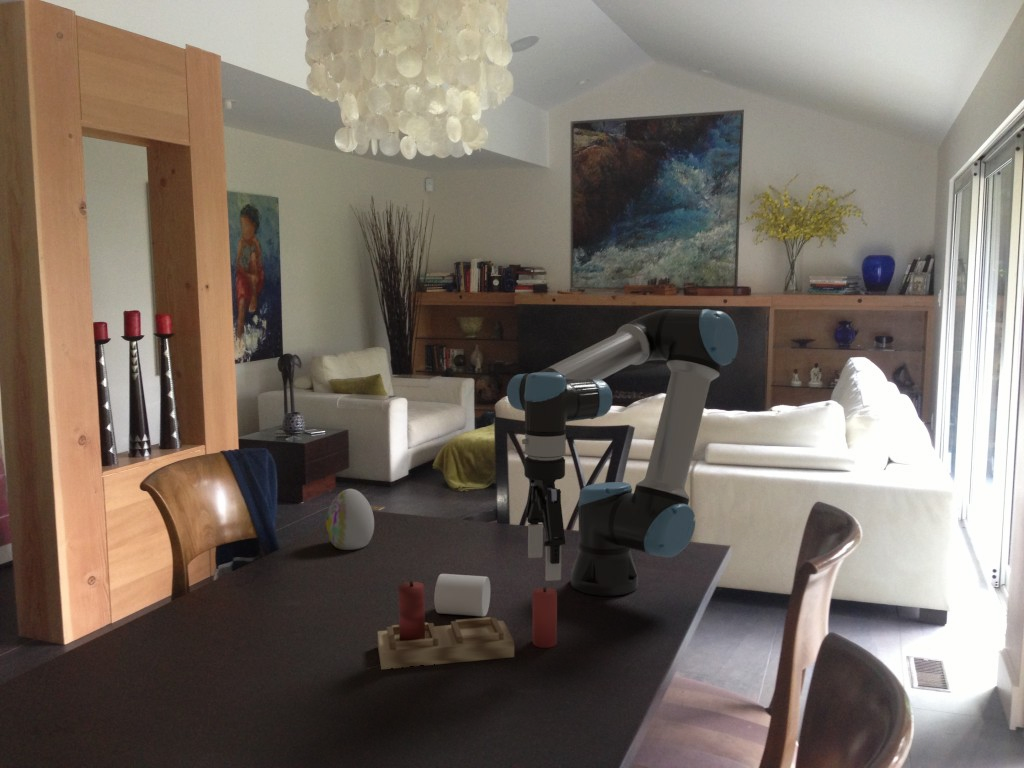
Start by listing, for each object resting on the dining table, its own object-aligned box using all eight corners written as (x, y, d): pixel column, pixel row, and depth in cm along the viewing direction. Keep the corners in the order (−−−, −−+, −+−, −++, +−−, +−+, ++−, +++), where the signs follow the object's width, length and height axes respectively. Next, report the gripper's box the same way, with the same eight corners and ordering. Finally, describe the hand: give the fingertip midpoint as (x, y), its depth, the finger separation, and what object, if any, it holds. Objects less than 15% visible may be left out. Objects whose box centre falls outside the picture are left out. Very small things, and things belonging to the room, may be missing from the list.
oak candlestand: (503, 635, 168) (502, 566, 166) (514, 657, 158) (514, 583, 157) (377, 646, 163) (376, 575, 161) (381, 669, 153) (379, 593, 152)
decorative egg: (326, 540, 231) (324, 485, 229) (372, 537, 234) (371, 482, 232) (327, 554, 219) (326, 496, 217) (376, 550, 222) (375, 493, 220)
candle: (553, 636, 167) (553, 582, 166) (559, 646, 163) (559, 590, 161) (530, 639, 166) (530, 584, 165) (535, 648, 162) (535, 592, 161)
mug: (481, 622, 175) (481, 584, 174) (434, 619, 177) (433, 581, 176) (494, 601, 186) (494, 565, 185) (450, 598, 188) (449, 562, 187)
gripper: (510, 445, 172) (510, 549, 174) (541, 470, 147) (540, 591, 150) (547, 444, 173) (546, 547, 176) (584, 469, 149) (582, 588, 151)
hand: (543, 568), depth 163 cm, fingers open, 13 cm apart
